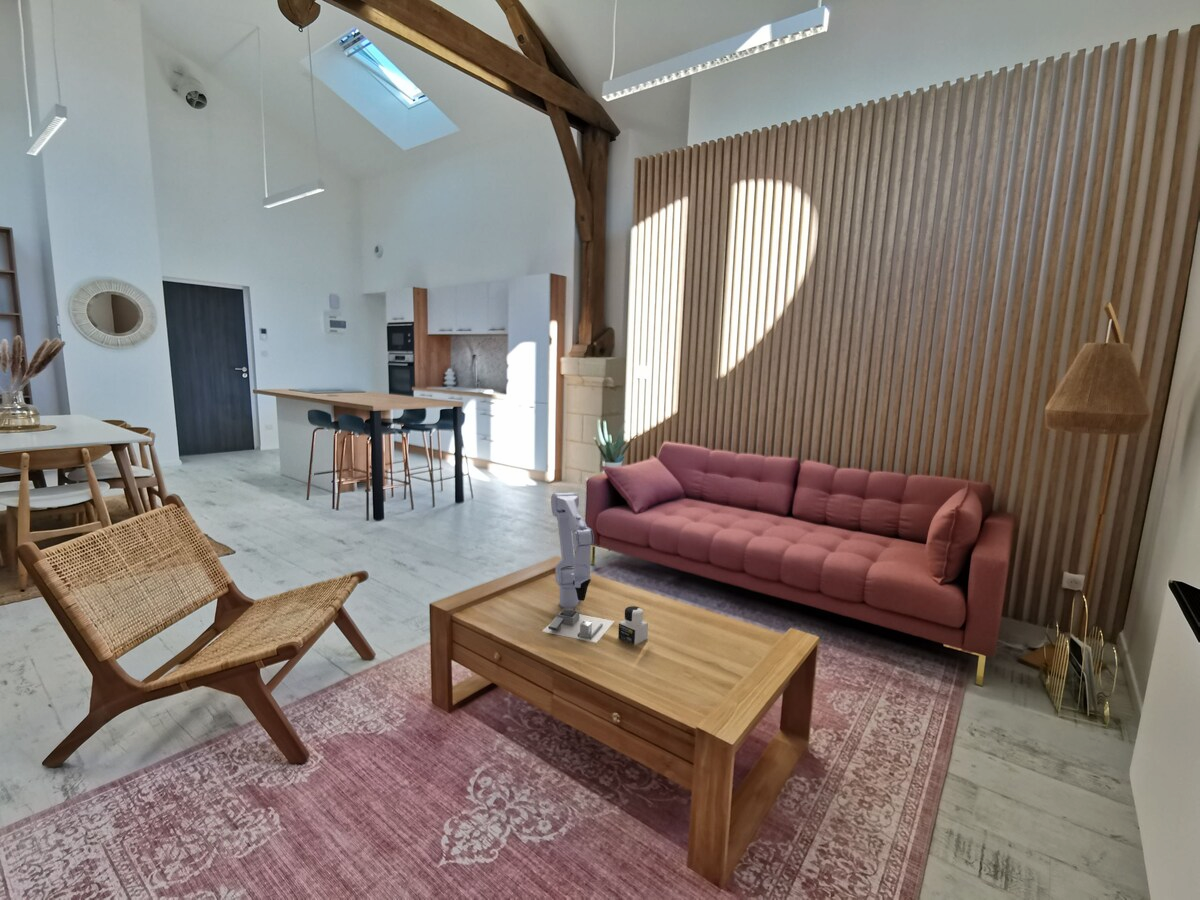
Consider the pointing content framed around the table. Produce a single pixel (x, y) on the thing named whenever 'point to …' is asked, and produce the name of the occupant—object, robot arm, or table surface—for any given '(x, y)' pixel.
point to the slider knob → (585, 629)
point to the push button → (568, 611)
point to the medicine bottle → (633, 626)
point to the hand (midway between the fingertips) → (581, 599)
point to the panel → (572, 626)
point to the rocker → (556, 623)
